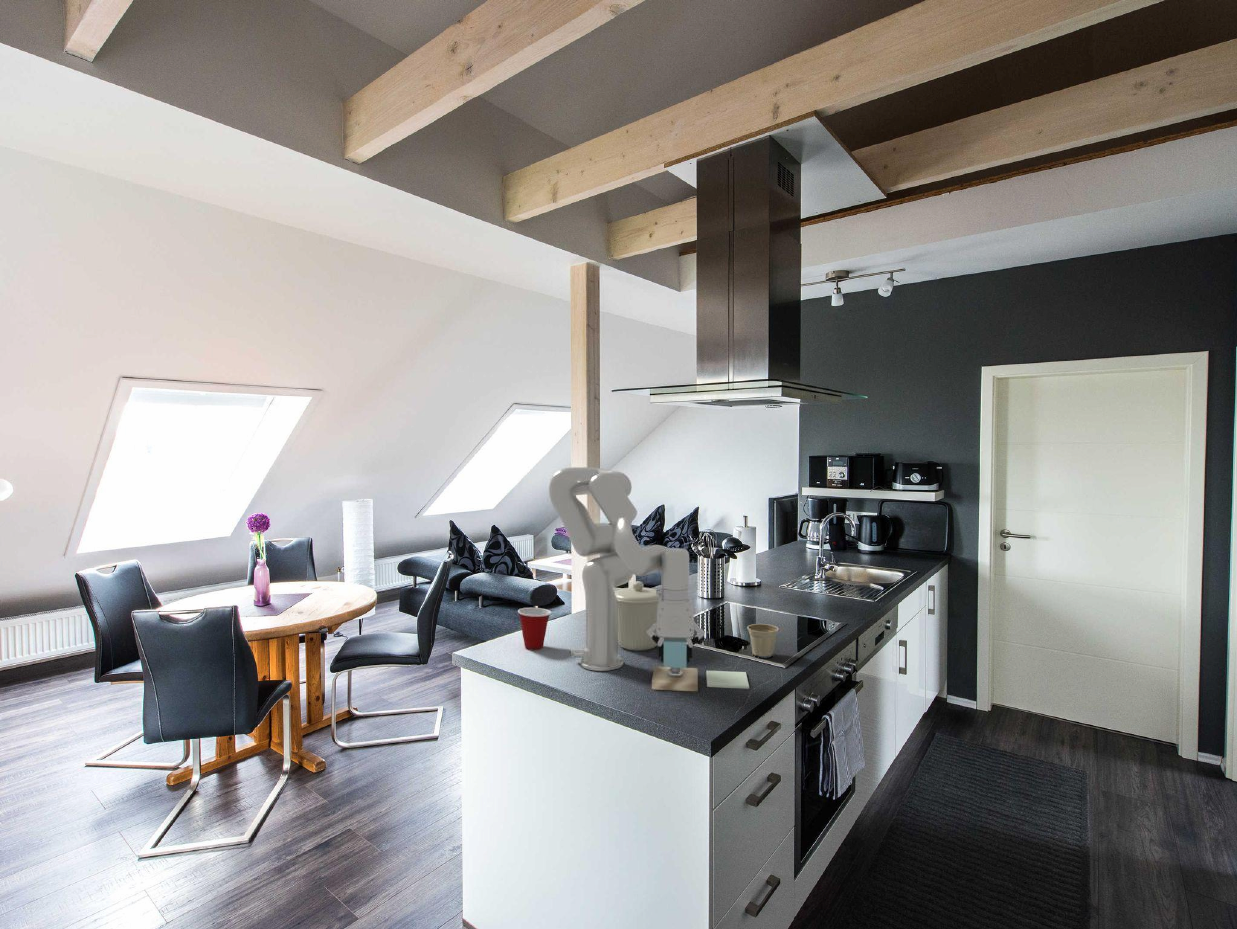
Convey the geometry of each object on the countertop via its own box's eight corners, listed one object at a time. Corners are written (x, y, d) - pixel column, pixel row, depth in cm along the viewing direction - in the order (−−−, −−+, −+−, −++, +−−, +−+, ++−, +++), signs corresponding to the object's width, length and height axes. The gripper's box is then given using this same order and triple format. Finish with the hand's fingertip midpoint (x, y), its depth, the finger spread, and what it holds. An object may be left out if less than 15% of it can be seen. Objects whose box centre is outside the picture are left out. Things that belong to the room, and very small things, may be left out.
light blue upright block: (663, 667, 167) (663, 641, 167) (664, 659, 173) (664, 635, 173) (686, 667, 166) (686, 642, 166) (686, 660, 172) (686, 636, 172)
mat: (707, 686, 166) (707, 684, 166) (706, 672, 177) (706, 670, 177) (749, 688, 165) (749, 686, 165) (745, 674, 176) (745, 672, 176)
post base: (651, 689, 165) (651, 681, 165) (654, 673, 176) (654, 666, 176) (697, 691, 163) (697, 683, 163) (697, 675, 175) (697, 668, 175)
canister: (666, 638, 210) (666, 576, 210) (665, 655, 192) (665, 587, 192) (613, 637, 212) (613, 575, 212) (607, 654, 194) (607, 586, 194)
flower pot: (741, 652, 195) (741, 625, 195) (766, 649, 198) (767, 622, 198) (758, 662, 186) (758, 633, 186) (784, 658, 190) (784, 630, 190)
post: (667, 677, 168) (667, 643, 168) (668, 672, 172) (668, 639, 172) (682, 677, 168) (682, 644, 167) (682, 672, 172) (682, 639, 171)
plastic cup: (555, 650, 198) (555, 612, 198) (521, 654, 194) (521, 615, 194) (546, 640, 208) (546, 604, 208) (514, 644, 204) (514, 607, 204)
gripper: (642, 596, 167) (642, 663, 167) (707, 598, 165) (707, 666, 165) (644, 590, 174) (644, 654, 174) (707, 592, 172) (707, 657, 172)
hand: (675, 659), depth 170 cm, fingers open, 6 cm apart
